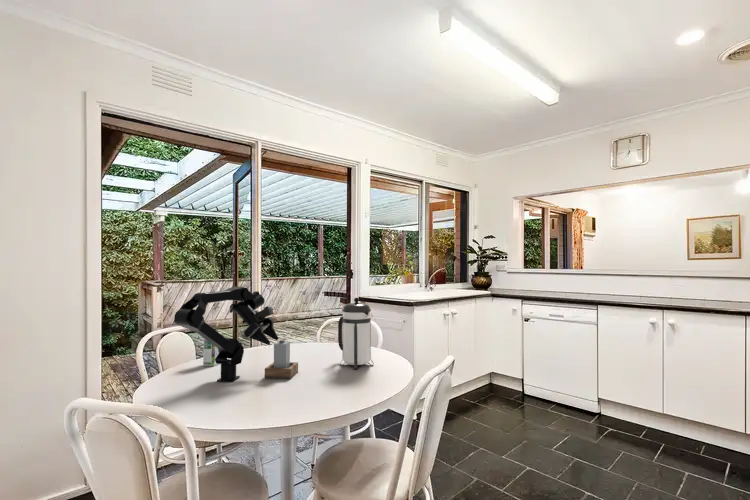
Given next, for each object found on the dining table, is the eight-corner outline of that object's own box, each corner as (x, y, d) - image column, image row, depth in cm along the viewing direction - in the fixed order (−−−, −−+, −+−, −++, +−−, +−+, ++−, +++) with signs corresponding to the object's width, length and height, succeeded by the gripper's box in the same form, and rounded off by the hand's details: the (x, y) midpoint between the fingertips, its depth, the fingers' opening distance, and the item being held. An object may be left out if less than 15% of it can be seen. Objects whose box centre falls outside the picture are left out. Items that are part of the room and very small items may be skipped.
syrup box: (202, 365, 171) (202, 333, 172) (211, 362, 177) (212, 330, 178) (213, 366, 170) (213, 333, 170) (222, 363, 175) (222, 331, 176)
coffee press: (375, 361, 178) (375, 296, 180) (371, 370, 162) (371, 298, 164) (338, 360, 180) (338, 296, 181) (331, 369, 164) (331, 298, 165)
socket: (290, 379, 150) (290, 369, 150) (264, 378, 151) (264, 368, 151) (298, 372, 160) (298, 362, 160) (273, 371, 161) (273, 362, 161)
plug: (286, 374, 153) (286, 341, 153) (273, 374, 153) (273, 341, 154) (289, 371, 158) (289, 339, 158) (277, 371, 158) (278, 339, 159)
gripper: (251, 302, 148) (279, 331, 147) (269, 298, 167) (294, 324, 165) (231, 322, 148) (259, 352, 147) (252, 316, 167) (276, 342, 166)
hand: (273, 341), depth 156 cm, fingers open, 9 cm apart
